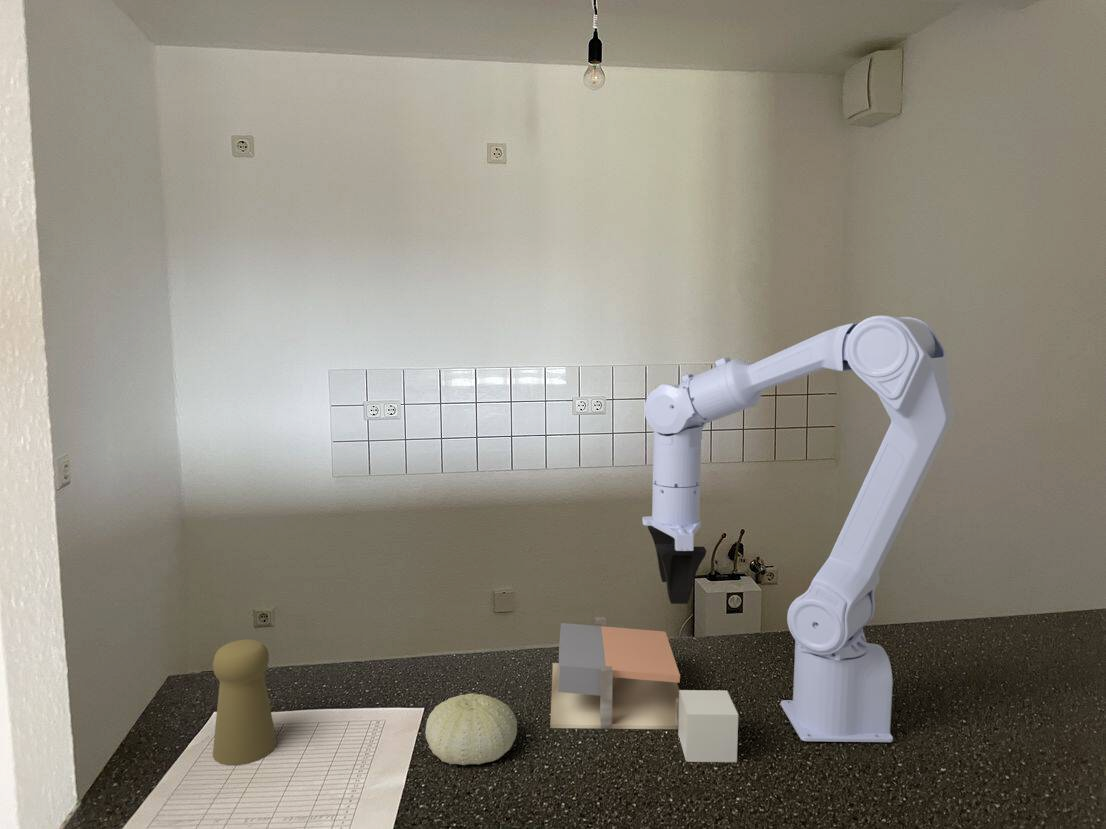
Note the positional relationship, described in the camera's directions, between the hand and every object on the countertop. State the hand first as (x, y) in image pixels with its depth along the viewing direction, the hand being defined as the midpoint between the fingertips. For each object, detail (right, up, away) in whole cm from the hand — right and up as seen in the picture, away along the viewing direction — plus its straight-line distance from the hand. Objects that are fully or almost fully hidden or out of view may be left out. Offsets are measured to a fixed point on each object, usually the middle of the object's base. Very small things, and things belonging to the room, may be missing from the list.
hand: (674, 591), depth 92 cm
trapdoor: (-8, -8, -5) cm, 12 cm away
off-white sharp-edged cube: (+1, -12, -16) cm, 20 cm away
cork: (-46, -12, -16) cm, 51 cm away
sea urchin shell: (-23, -13, -15) cm, 31 cm away
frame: (-8, -11, -5) cm, 14 cm away
